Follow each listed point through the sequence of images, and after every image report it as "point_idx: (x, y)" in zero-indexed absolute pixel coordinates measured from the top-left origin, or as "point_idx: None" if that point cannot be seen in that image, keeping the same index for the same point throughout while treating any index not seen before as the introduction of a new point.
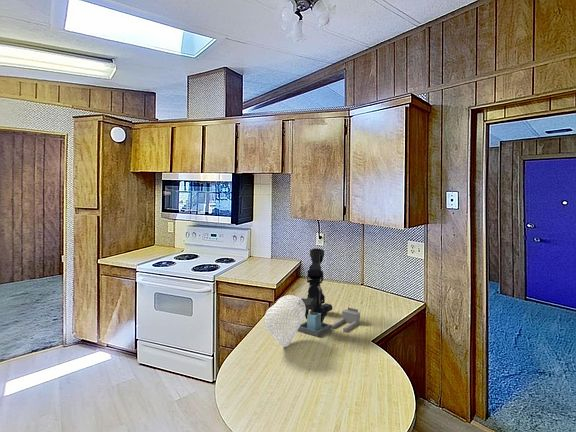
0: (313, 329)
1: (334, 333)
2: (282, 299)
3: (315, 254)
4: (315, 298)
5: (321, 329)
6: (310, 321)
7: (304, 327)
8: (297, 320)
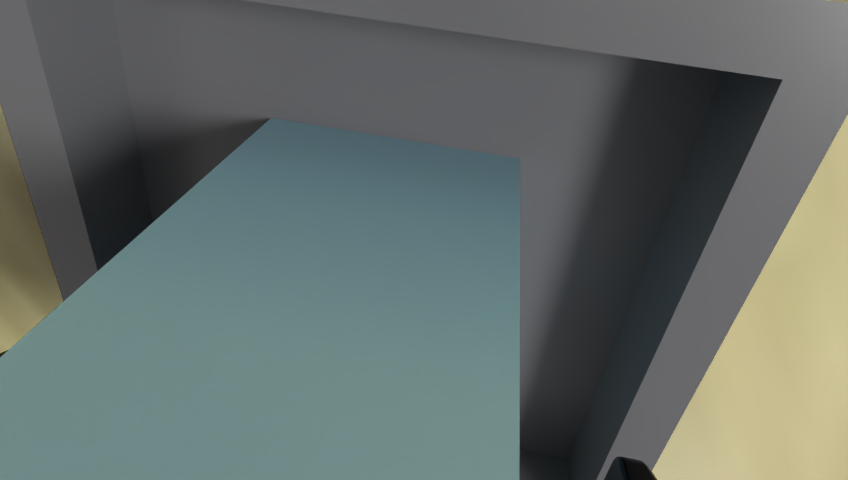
0: (303, 148)
1: (9, 269)
2: None
3: None
4: None
5: (43, 155)
6: (351, 291)
7: (551, 39)
8: None
